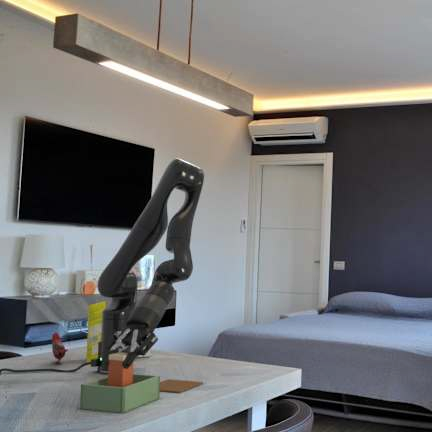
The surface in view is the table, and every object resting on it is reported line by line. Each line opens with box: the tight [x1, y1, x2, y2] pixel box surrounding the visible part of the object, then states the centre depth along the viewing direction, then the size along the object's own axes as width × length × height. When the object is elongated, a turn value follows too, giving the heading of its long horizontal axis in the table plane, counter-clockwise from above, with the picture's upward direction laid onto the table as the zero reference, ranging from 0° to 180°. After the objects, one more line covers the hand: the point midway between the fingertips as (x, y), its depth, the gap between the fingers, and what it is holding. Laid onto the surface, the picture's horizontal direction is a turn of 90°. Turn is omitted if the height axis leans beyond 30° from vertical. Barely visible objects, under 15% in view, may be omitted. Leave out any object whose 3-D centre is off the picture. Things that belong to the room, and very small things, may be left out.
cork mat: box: [159, 378, 204, 394], centre depth 174 cm, size 12×12×1 cm
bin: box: [79, 373, 161, 414], centre depth 155 cm, size 13×15×6 cm
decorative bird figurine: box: [51, 332, 69, 365], centre depth 203 cm, size 3×18×10 cm, turn 43°
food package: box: [85, 300, 107, 363], centre depth 212 cm, size 15×1×20 cm, turn 5°
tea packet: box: [107, 352, 134, 387], centre depth 155 cm, size 5×4×11 cm
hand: (116, 365), depth 154 cm, fingers closed on tea packet, 4 cm apart
